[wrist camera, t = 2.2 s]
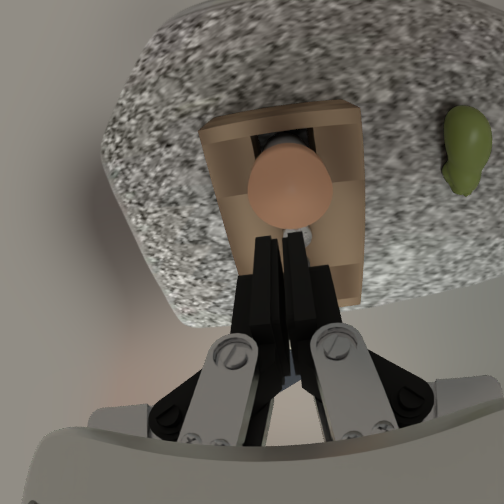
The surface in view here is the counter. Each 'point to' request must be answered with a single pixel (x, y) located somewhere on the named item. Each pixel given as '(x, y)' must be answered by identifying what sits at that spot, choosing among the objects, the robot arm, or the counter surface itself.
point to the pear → (466, 148)
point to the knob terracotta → (289, 184)
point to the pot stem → (306, 235)
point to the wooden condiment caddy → (338, 167)
